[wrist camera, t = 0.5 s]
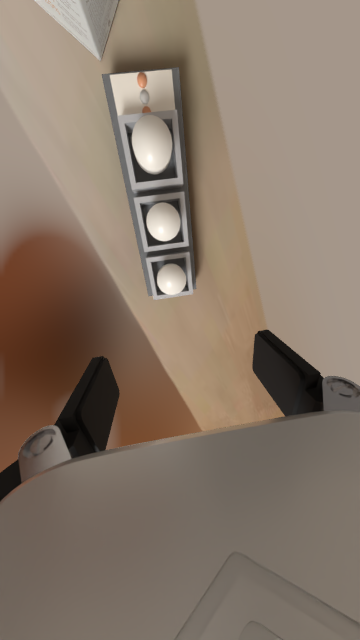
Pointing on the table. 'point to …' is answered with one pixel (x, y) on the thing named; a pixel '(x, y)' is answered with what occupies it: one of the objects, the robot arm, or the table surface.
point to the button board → (148, 189)
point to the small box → (84, 20)
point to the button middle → (163, 221)
